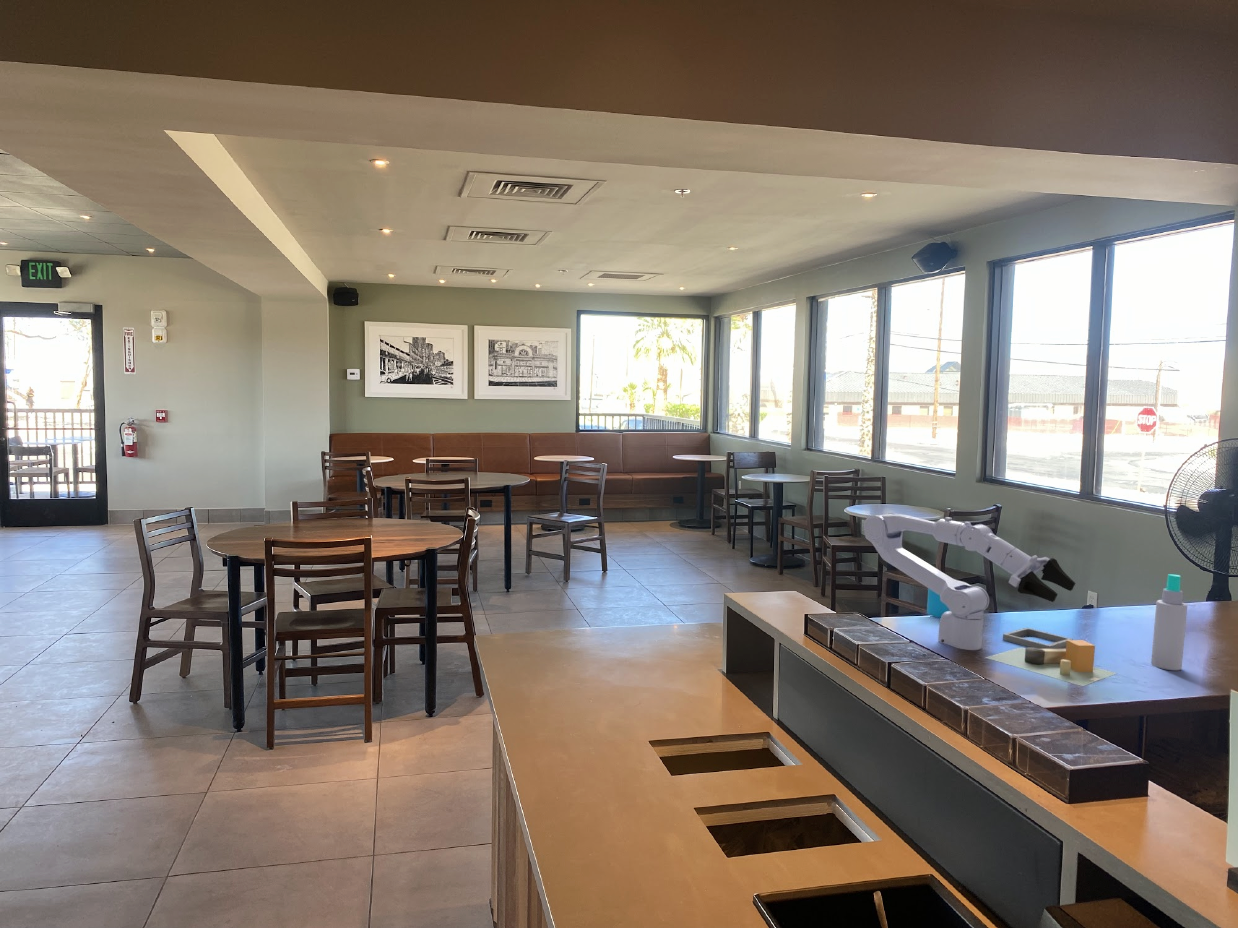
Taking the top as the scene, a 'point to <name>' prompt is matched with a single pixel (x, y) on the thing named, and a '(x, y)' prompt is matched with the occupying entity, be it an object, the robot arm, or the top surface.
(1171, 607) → the spray bottle
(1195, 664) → the top surface
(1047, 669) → the base plate
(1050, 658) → the lever
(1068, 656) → the orange block
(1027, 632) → the tray
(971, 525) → the robot arm
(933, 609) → the mug
